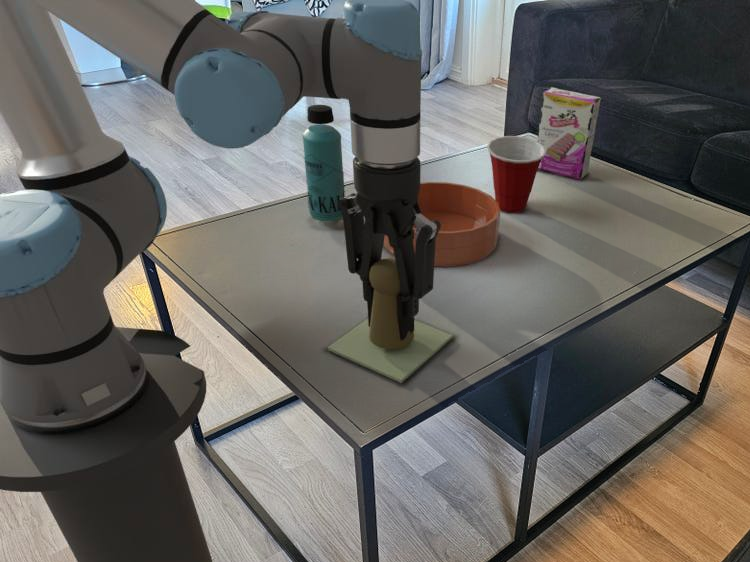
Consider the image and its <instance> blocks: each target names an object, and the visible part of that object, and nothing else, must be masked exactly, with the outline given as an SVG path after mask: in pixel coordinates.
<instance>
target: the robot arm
mask: <svg viewBox="0 0 750 562" xmlns="http://www.w3.org/2000/svg"><path fill="white" fill-rule="evenodd" d="M342 13H343V14H342V15H341V17H336V18H333V17H331V18H328V17H318V16H309V15H308V16H307V15H298V14H297V15H296V14H287V13H276V12H269V11H268V10H257V11H234V12H231V13H230V14H229V15H228V16H227V17H226V18H225V21H223V19H221V18H219V17H218V16H216V15H215V14H214V13H212V12H211V11H210V10H208V9H207V7H204V6H203V5H202V4H200V3H199V2H198V1H196V0H0V114H1V116H2V118H3V120H4V122H5V123H6V125H7V128H8V129H9V131H10V133H11V135H12V137H13V139H14V141H15V142H16V144H17V145H18V148H19V150H20V152H21V157H20V159H19V162H18V165H17V167H16V169H15V173H16V176H17V178H18V179H19V180H20V182H21V185H22V186H23V188H24V189H19V190H12V191H8V192H3V193H0V400H1V404H2V407H3V408H4V410H5V412H6V414H7V416H8V418H9V419H10V421H11V422H12V423H13V424H14V425H16V426H17V427H19V428H21V429H23V430H26V431H29V432H33V433H39V434H65V433H72V432H77V431H81V430H85V429H89V428H92V427H95V426H98V425H100V424H103V423H105V422H107V421H110V420H112V419H113V418H115V417H117V416H119V415H121V414H122V413H124V412H125V411H127V410H128V409H129V408H130V407H132V406H133V405H134V404H135V403H136V402H137V401H138V400H139V399H140V398H141V396H142V395H143V393H144V392H145V390H146V388H147V385H148V372H147V369H146V366H145V363H144V360H143V358H142V357H141V355H140V354H139V353H138V352H137V351H136V349H135V348H134V347H133V346H132V345H131V344H130V343H129V341H128V340H127V339H126V338H125V337H124V336H123V334H122V333H121V332H120V331H119V330H118V329H117V327H118V326H116V325H115V323H114V321H113V318H112V315H111V312H110V309H109V305H108V303H107V300H106V297H105V293H104V292H105V289H106V288H107V286H109V285H110V284H111V283H112V282H113V281H114V280H115V279H116V278H117V277H118V276H119V275H120V274H121V273H122V272H123V271H124V270H125V269H126V268H127V267H128V266H129V265H130V264H131V263H132V262H133V261H134V260H135V259H136V258H137V257H138V256H139V255H141V254H143V253H144V252H145V251H147V250H148V249H149V248H150V247H151V246H152V244H153V243H154V242H155V240H156V239H157V237H158V235H159V234H160V233H161V231H162V229H163V228H164V225H165V223H166V220H167V215H168V207H167V206H168V205H167V200H166V199H167V198H166V196H165V192H164V189H163V187H162V185H161V183H160V181H159V180H158V178H157V177H156V175H155V174H154V173H153V172H152V171H151V170H150V169H149V168H148V167H144V166H142V165H141V161H139V160H138V159H136V158H135V157H132V156H130V155H129V154H128V152H127V149H126V148H125V146H124V144H123V142H121V141H119V140H117V139H116V138H114V137H112V136H110V135H107V134H106V133H105V132H104V131H103V130H102V127H101V125H100V123H99V121H98V118H97V116H96V114H95V112H94V110H93V107H92V106H91V104H90V101H89V99H88V97H87V93H86V92H85V90H84V88H83V86H82V83H81V81H80V78H79V77H78V75H77V72H76V70H75V68H74V66H73V64H72V62H71V61H72V60H71V59H70V57H69V55H68V53H67V50H66V48H65V46H64V44H63V42H62V39H61V37H60V35H59V33H58V31H57V28H56V26H55V23H54V21H53V20H52V17H51V15H53V16H54V17H56V18H58V19H59V20H61V21H63V22H64V23H65V24H67V25H68V26H69V27H71V28H73V29H74V30H76V31H77V32H79V33H80V34H82V35H84V36H85V37H86V38H88V39H89V40H90V41H93V42H94V43H95V44H97V45H98V46H100V47H102V49H104V50H106V51H108V52H109V53H110V54H112V55H113V56H115V57H116V58H118V59H119V60H121V61H123V62H124V63H126V65H127V64H128V65H129V66H130V67H132V68H133V69H135V70H137V71H138V72H139V73H141V74H143V75H144V76H146V77H147V78H149V79H150V80H151V81H153V82H155V84H158V85H159V86H161V87H162V88H164V89H165V90H166V91H168V92H169V93H171V95H173V96H174V100H175V105H176V107H177V110H178V113H179V115H180V116H181V118H182V119H183V121H185V123H186V124H187V126H188V127H189V129H190V130H191V132H192V133H193V134H195V136H197V137H198V138H199V139H201V140H203V141H204V142H206V143H208V144H210V145H211V146H214V147H218V148H222V149H230V150H231V149H242V148H244V147H248V146H250V145H252V144H254V143H256V142H257V141H258V140H259V139H261V138H263V137H264V136H267V135H269V134H270V133H271V131H272V130H273V129H274V128H276V127H277V126H278V125H279V124H280V122H281V120H282V119H283V117H284V116H285V115H286V114H287V113H288V112H289V111H290V110H291V109H293V108H294V107H295V106H296V105H297V104H298V103H299V102H300V101H301V100H302V99H303V98H304V97H307V98H319V99H320V98H321V99H334V100H340V99H342V100H348V105H349V122H350V138H351V139H350V143H351V153H352V155H353V156H355V157H354V158H353V159H352V170H353V171H352V172H353V187H354V189H355V191H356V193H354V192H352V193H350V194H348V195H345V196H346V197H344V198H342V199H340V200H339V201H338V205H339V208H340V211H341V214H342V216H343V217H342V221H343V230H344V239H345V250H346V259H347V269H348V271H349V273H350V274H351V275H352V274H353V275H354V274H356V275H357V276H358V277H359V279H360V281H361V282H362V296H363V297H362V298H363V300H364V302H366V304H367V305H366V306H367V318H368V325H369V327H370V321H371V312H372V303H373V293H374V288H373V287H372V285H371V282H370V279H369V272H370V269H371V267H372V265H373V264H374V263H375V262H376V261H378V260H381V259H382V256H383V250H384V245H383V244H384V238H385V235H386V236H388V240H389V245H390V246H391V247H393V250H394V254H393V256H394V259H395V260H396V265H397V270H398V275H399V281H400V286H401V291H402V293H401V294H399V295H398V296H397V319H398V326H399V333H400V339H401V340H404V339H405V338H406V335H407V333H408V331H410V333H412V332H413V331H414V320H415V317H416V316H417V315H418V314H419V313H420V299H422V298H424V297H425V296H426V295H428V294H429V293H430V292H432V291H433V289H434V281H435V280H434V279H435V266H434V262H435V243H436V237H437V235H438V232H439V230H440V228H441V224H440V222H439V221H438V220H433V221H432V222H431V221H430V220H428V219H427V218H426V217H424V216H423V215H422V214H421V208H420V206H419V203H418V194H419V191H420V183H421V160H420V159H419V156H420V155H421V105H422V103H421V102H422V101H421V100H422V99H421V98H422V59H423V49H422V48H421V45H422V44H421V24H420V23H421V20H420V13H419V11H418V9H417V7H416V5H414V4H413V3H412V2H411V1H409V0H346V1H345V2H344V4H343V12H342ZM414 224H415V225H416V232H415V236H416V237H417V240H416V246H415V251H414V245H413V239H414V230H413V225H414Z"/></svg>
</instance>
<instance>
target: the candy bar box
mask: <svg viewBox="0 0 750 562" xmlns="http://www.w3.org/2000/svg"><path fill="white" fill-rule="evenodd" d="M541 100H542V103H541V109H540V116H539V126H538V133H537V140H536V141H538V142H539V143H541V144H542V145H544V147H545V149H546V153H545V155H544V157H543V158H542V159H541V162H540V164H539V167H538V169H537V171H541V172H545V173H549V174H553V175H556V176H557V175H558V176H562V177H567V178H570V179H575V180H579V181H581V180H583V179H584V177H585V176H587V174H589V167H590V161H591V156H592V151H593V145H594V140H595V134H596V128H597V123H598V117H599V111H600V107H601V106H600V105H601V101H602V97H600V96H596V95H591V94H586V93H581V92H576V91H571V90H567V89H562V88H557V87H552V86H551V87H550V88H548V89H547V90H544V91H543V94H542V99H541Z"/></svg>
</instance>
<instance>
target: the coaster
mask: <svg viewBox="0 0 750 562" xmlns="http://www.w3.org/2000/svg"><path fill="white" fill-rule="evenodd" d="M369 330H370V327H369V325H368V317H367V318H366V319H365V320H363V321H361V323H359V324H357V325H356V326H355V327H354V328H352V329H351V330H349V331H348V332H346V333H345V334H344V335H342V336H341V337H340V338H338V339H336V341H334V342H332V344H330V345H329V346H327V350H328V351H329V352H331V353H334V354H336V355H338V356H340V357H342V358H345V359H347V360H348V361H351V362H353V363H355V364H358V365H360V366H362V367H364V368H367V369H369V370H371V371H373V372H376V373H378V374H380V375H382V376H385V377H387V378H389V379H391V380H393V381H395V382H398V383H400V384H402V383H404V382H405V381H406V379H408V378H409V377H410V376H411V375H412V374H413V373H415V372H416V371H417V370H418V369H419V368H420V367H422V366H423V365H424V364H425V363H426V362H427V361H428V360H429V359H430V358H432V357H433V356H434V355H435V354H436V353H438V351H439V350H441V349H442V348H443V347H444V346H445V345H446V344H447V343H449V341H451V340H452V339H453V335H454V334H451V333H448V332H446V331H443V330H441V329H438V328H436V327H433V326H432V325H428V324H426V323H424V322H421V321H418V320H416V319H414V339H413V340H412V342H411V343H410V344H408V345H407V346H404V347H401V348H397V349H385V348H381V347H378V346H376V345H374V344H373V343H372V342H371V341H370V339H369Z"/></svg>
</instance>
